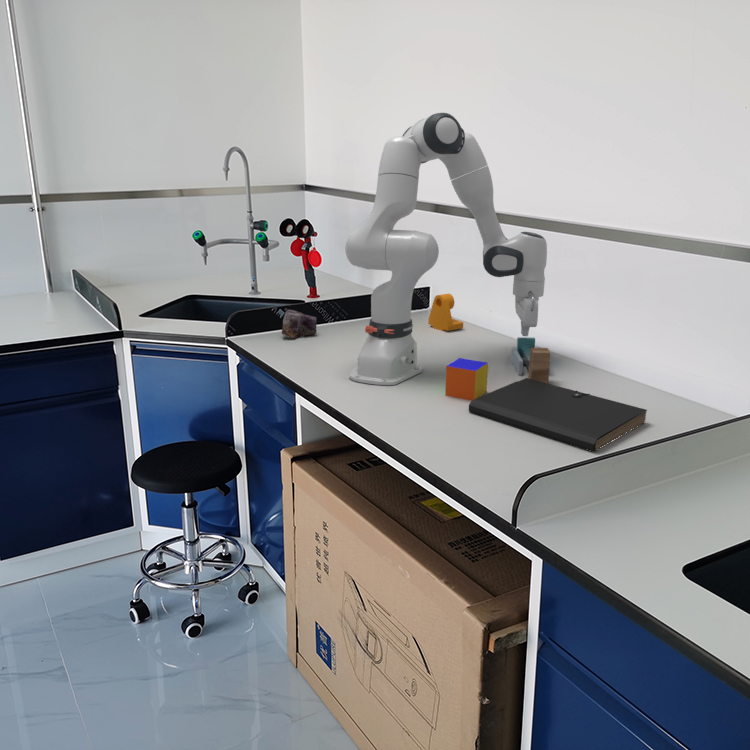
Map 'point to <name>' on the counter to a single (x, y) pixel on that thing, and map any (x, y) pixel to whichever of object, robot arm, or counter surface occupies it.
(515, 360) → the channel
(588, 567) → the counter surface
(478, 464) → the counter surface
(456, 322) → the bracket
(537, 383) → the black book
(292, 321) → the rock
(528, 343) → the teal headed mallet
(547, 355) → the walnut block
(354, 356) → the counter surface
